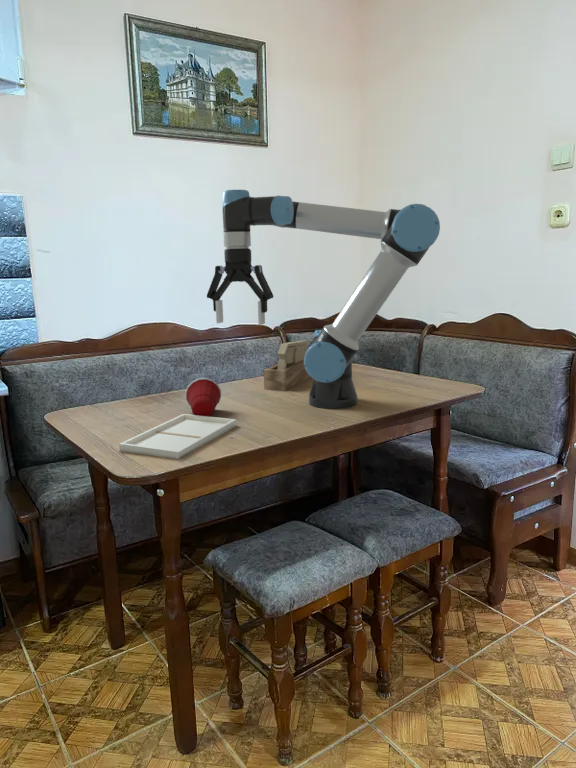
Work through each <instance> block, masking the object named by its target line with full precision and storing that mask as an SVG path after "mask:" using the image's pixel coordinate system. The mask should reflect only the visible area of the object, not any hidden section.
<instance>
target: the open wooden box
mask: <svg viewBox="0 0 576 768" xmlns="http://www.w3.org/2000/svg"><path fill="white" fill-rule="evenodd" d="M277 369H278V363H276V364H274V365H271V366H269V367H267V368H265V369H263V387H264V389H263V390H264V391H265V390H267V391H280V392H281V391H282V392H285V391H287V390H289V389H290V388H292V387H294V386H296V385H298V384H299V383H302V382H303V381H305V380H307V379H309V378H312V377H311V376H310V375H309V374H308V373H307V371H306V369H305V366H304V360H302V361H300V362H297V363H295V364H293V365H291V366H288V367H287V368H285V369H283V370H277Z"/></svg>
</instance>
